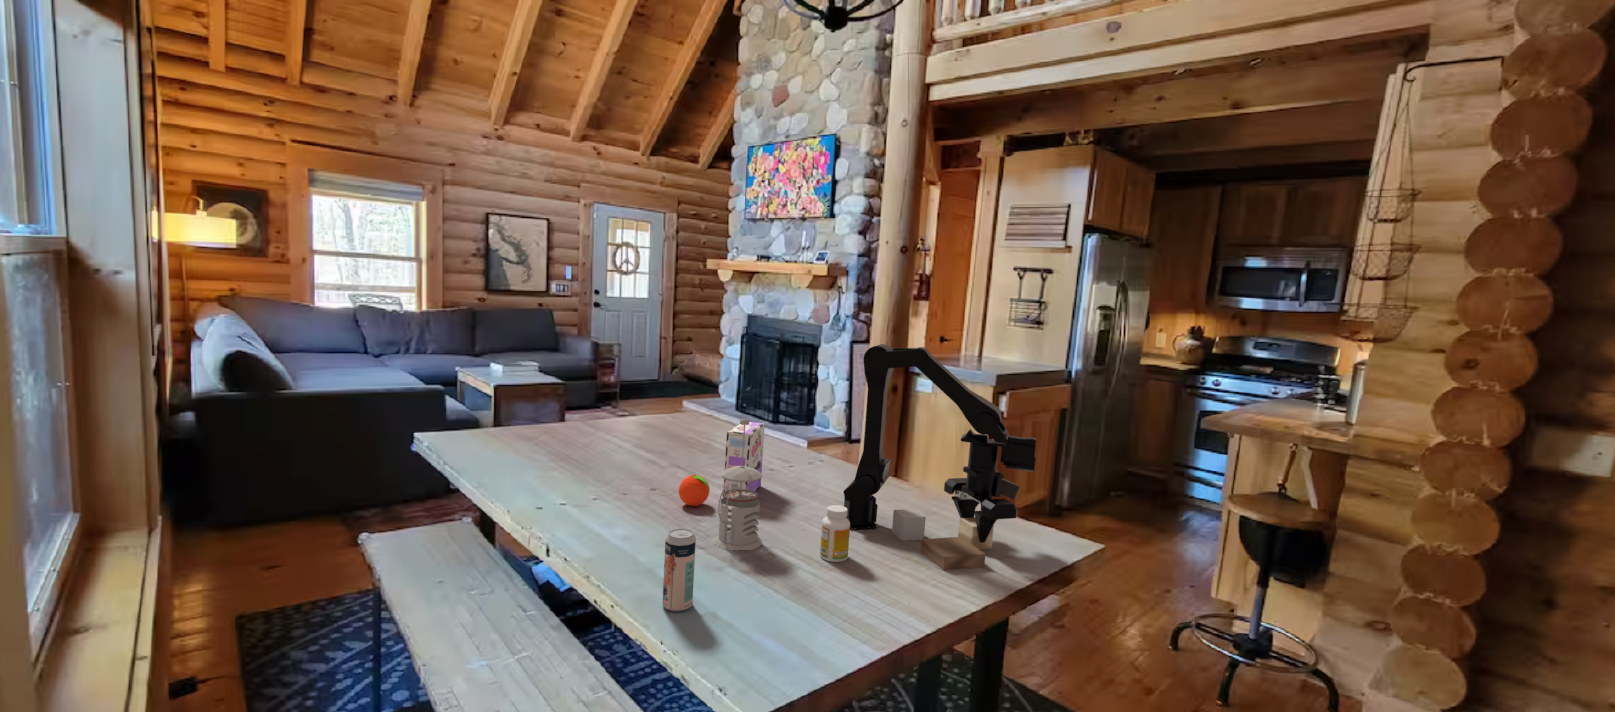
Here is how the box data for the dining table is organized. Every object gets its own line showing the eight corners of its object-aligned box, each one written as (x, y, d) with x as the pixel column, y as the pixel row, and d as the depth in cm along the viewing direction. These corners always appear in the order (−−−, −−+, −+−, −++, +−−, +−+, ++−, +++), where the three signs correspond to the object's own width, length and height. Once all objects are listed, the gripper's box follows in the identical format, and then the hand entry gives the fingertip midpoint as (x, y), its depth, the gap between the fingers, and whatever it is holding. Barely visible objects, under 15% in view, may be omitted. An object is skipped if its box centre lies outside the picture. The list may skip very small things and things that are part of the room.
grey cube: (902, 541, 145) (904, 517, 144) (891, 532, 150) (893, 509, 149) (923, 539, 146) (925, 516, 146) (912, 531, 151) (914, 508, 151)
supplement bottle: (850, 554, 136) (854, 506, 134) (843, 564, 130) (846, 514, 129) (824, 549, 137) (828, 501, 136) (816, 559, 132) (819, 510, 131)
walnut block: (942, 572, 131) (944, 557, 131) (920, 553, 140) (921, 539, 139) (984, 568, 134) (985, 554, 134) (959, 550, 143) (960, 536, 142)
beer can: (664, 598, 112) (667, 527, 111) (693, 599, 113) (697, 528, 111) (660, 613, 108) (663, 538, 106) (691, 613, 108) (695, 539, 107)
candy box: (746, 502, 162) (750, 433, 161) (722, 499, 164) (725, 430, 162) (761, 486, 176) (765, 422, 174) (739, 483, 177) (743, 419, 175)
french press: (771, 539, 141) (778, 417, 138) (742, 558, 130) (749, 427, 128) (729, 529, 145) (736, 411, 142) (698, 546, 134) (704, 420, 132)
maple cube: (970, 550, 142) (972, 526, 142) (957, 541, 147) (959, 518, 146) (991, 548, 144) (993, 525, 143) (978, 539, 149) (980, 517, 148)
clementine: (718, 506, 159) (720, 475, 158) (698, 513, 153) (699, 482, 152) (692, 498, 163) (693, 468, 162) (671, 505, 157) (672, 474, 156)
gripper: (1043, 476, 137) (1035, 552, 139) (989, 452, 155) (983, 519, 157) (995, 478, 134) (987, 556, 135) (945, 453, 151) (939, 522, 153)
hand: (975, 537), depth 145 cm, fingers closed on maple cube, 5 cm apart
